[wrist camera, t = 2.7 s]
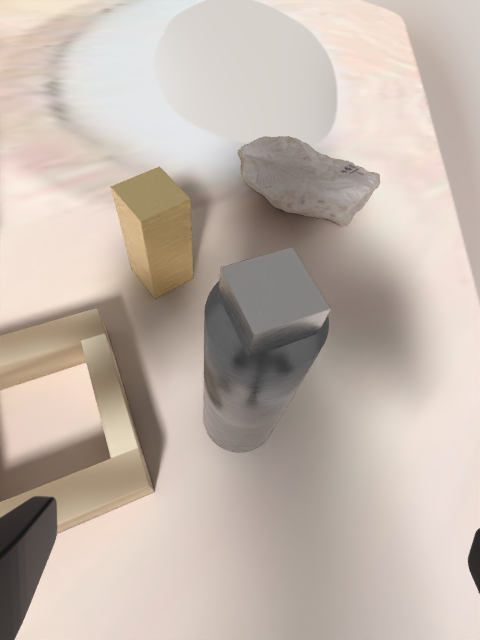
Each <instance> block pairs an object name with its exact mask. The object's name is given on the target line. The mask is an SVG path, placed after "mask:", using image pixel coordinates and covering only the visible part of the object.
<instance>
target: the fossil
mask: <svg viewBox="0 0 480 640" xmlns="http://www.w3.org/2000/svg"><path fill="white" fill-rule="evenodd" d="M238 156H239V157H240V159H241V163H242V164H241V175H242V177H243V179H244V180H245V182H246V184H248V185H249V186H250V187H251V188H253V189H254V190H255V191H257V192H258V193H260V194H262V195H263V196H265V198H267V200H268V201H269V202H270V203H271V204H272V206H273V207H275V208H277V209H282V210H284V211H285V212H287V213H296V214H299V215H303V216H306V217H314V218H324V219H328V220H331V221H333V222H335V223H337V224H339V225H340V226H347V225H348V224H349V223H350V222H351V220H352V218H353V216H354V215H355V213H356V212H358V211H359V210H360V209H361V208H362V207H363V206H364V205H365V203H366V202H367V201H368V199H369V198H370V196H371V195H372V193H373V191H374V190H375V189H376V188H378V186H379V184H380V175H379V174H378V173H374V172H368V171H366V170H365V169H364V168H362V167H359V166H355V165H354V164H353V163H351V162H349V161H344V160H340V159H334V158H330V157H328V156H327V155H322V154H320V153H318V152H317V151H315V150H314V149H313V148H312V147H310V146H309V145H308V144H306V143H304V142H301V141H300V140H298V139H296V138H292V137H289V136H288V137H280V136H279V137H262V138H258V139H256V140H254V141H253V142H251V143H250V144H247V145H244V146H243V147H242V148H241V149H240V150H239V151H238Z"/></svg>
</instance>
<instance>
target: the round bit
mask: <svg viewBox="0 0 480 640" xmlns="http://www.w3.org/2000/svg"><path fill="white" fill-rule="evenodd" d="M330 310H331V308H330V306H329V304H328V303H327V301H326V300H325V298H324V296H323V295H322V293H321V292H320V290H319V288H318V287H317V285H316V284H315V282H314V280H313V279H312V277H311V276H310V274H309V272H308V271H307V269H306V268H305V266H304V264H303V263H302V261H301V260H300V258H299V256H298V255H297V253H296V252H295V250H294V248H293V247H291V248H287V249H283V250H280V251H276V252H273V253H269V254H266V255H262V256H259V257H255V258H252V259H248V260H245V261H241V262H238V263H234V264H231V265H227V266H224V267H221V268H220V281H219V282H218V283H217V284H216V285H215V286H214V288H213V289H212V291H211V292H210V294H209V296H208V299H207V302H206V306H205V326H204V409H203V418H204V425H205V428H206V431H207V433H208V435H209V436H210V438H211V439H212V440H213V441H214V442H215V443H216V444H217V445H218V446H220V447H222V448H223V449H225V450H228V451H232V452H247V451H251V450H254V449H256V448H257V447H259V446H260V445H262V444H263V443H264V442H265V441H266V440H267V438H268V437H269V435H270V434H271V432H272V430H273V429H274V427H275V425H276V423H277V422H278V420H279V418H280V417H281V415H282V413H283V412H284V410H285V408H286V407H287V405H288V403H289V402H290V400H291V398H292V397H293V395H294V393H295V392H296V390H297V388H298V387H299V385H300V383H301V382H302V380H303V378H304V377H305V375H306V373H307V372H308V370H309V368H310V367H311V365H312V363H313V361H314V360H315V358H316V356H317V355H318V353H319V351H320V350H321V348H322V346H323V345H324V343H325V340H326V338H327V334H328V327H329V320H328V313H329V312H330Z"/></svg>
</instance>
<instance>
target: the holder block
mask: <svg viewBox="0 0 480 640" xmlns="http://www.w3.org/2000/svg"><path fill="white" fill-rule="evenodd" d="M82 363H87V367H88V370H89V374H90V378H91V382H92V386H93V390H94V394H95V398H96V402H97V406H98V410H99V414H100V417H101V421H102V425H103V429H104V433H105V437H106V441H107V445H108V449H109V453H110V457H111V459H108V460H106V461H103V462H100V463H98V464H95V465H93V466H90V467H88V468H85V469H83V470H80V471H78V472H75V473H72V474H70V475H67V476H65V477H62V478H60V479H57V480H55V481H52V482H50V483H47V484H45V485H42V486H39V487H37V488H34V489H32V490H29V491H27V492H24V493H22V494H19V495H17V496H14V497H12V498H9V499H6V500H4V501H1V502H0V517H2V516H3V515H5V514H6V513H8V512H10V511H11V510H13V509H14V508H16V507H17V506H19V505H21V504H22V503H24V502H25V501H27V500H28V499H30V498H32V497H34V496H52V497H54V498H55V499H56V501H57V534H58V533H60V532H63V531H65V530H67V529H70V528H72V527H74V526H77V525H79V524H81V523H84V522H86V521H88V520H91V519H93V518H95V517H98V516H100V515H102V514H105V513H107V512H109V511H112V510H114V509H116V508H118V507H121V506H123V505H125V504H128V503H130V502H132V501H135V500H137V499H139V498H142V497H144V496H146V495H149V494H151V493H153V492H154V489H153V485H152V482H151V479H150V475H149V472H148V468H147V465H146V462H145V458H144V455H143V451H142V448H141V445H140V441H139V438H138V434H137V431H136V428H135V424H134V421H133V418H132V414H131V411H130V407H129V404H128V401H127V397H126V394H125V390H124V387H123V384H122V380H121V377H120V373H119V370H118V367H117V363H116V360H115V356H114V353H113V350H112V346H111V343H110V340H109V336H108V333H107V329H106V327H105V325H104V322H103V320H102V318H101V316H100V313H99V311H98V309H97V308H95V309H91V310H88V311H84V312H81V313H77V314H74V315H70V316H67V317H63V318H60V319H56V320H53V321H49V322H46V323H43V324H39V325H36V326H32V327H29V328H25V329H22V330H18V331H15V332H11V333H8V334H4V335H1V336H0V390H2V389H5V388H8V387H11V386H14V385H17V384H20V383H23V382H27V381H30V380H33V379H36V378H39V377H42V376H45V375H48V374H51V373H54V372H58V371H61V370H64V369H67V368H70V367H73V366H76V365H79V364H82Z"/></svg>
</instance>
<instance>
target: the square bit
mask: <svg viewBox="0 0 480 640" xmlns="http://www.w3.org/2000/svg"><path fill="white" fill-rule="evenodd" d="M111 190H112V194H113V198H114V202H115V205H116V209H117V213H118V217H119V221H120V225H121V229H122V233H123V237H124V241H125V245H126V249H127V253H128V257H129V261H130V265H131V269H132V270H133V271H134V273H135V274H136V275H137V277H138V278H139V279H140V280H141V282H142V283H143V284H144V285H145V287H146V288H147V289H148V290H149V292H150V293H151V294H152V296H153V297H154V298H155V299H156V298H158V297H160V296H162V295H164V294H165V293H167V292H169V291H171V290H173V289H174V288H176V287H178V286H180V285H182V284H183V283H185V282H187V281H189V280H191V279H192V278H193V257H192V228H191V200H190V197H189V196H188V195H187V194H186V193H185V192H184V191H183V190H182V189H181V188H180V187H179V186H178V185H177V184H176V183H175V182H174V181H173V180H172V179H171V178H170V177H169V176H168V175H167V174H166V173H165V172H164V171H163V170H162V169H161V168H160V167H158V168H155V169H153V170H150V171H148V172H145V173H143V174H140V175H138V176H136V177H133V178H131V179H128V180H126V181H123V182H121V183H118V184H116V185H114V186H111Z"/></svg>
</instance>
